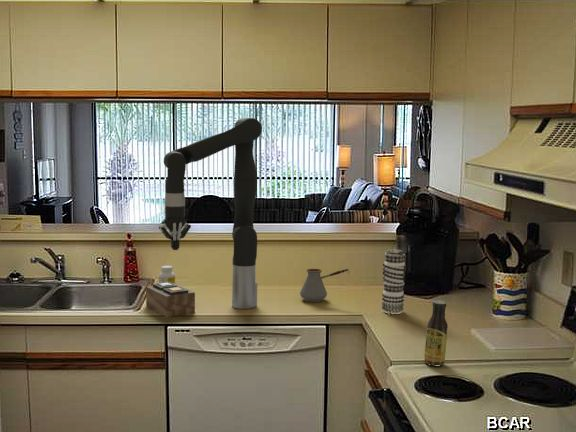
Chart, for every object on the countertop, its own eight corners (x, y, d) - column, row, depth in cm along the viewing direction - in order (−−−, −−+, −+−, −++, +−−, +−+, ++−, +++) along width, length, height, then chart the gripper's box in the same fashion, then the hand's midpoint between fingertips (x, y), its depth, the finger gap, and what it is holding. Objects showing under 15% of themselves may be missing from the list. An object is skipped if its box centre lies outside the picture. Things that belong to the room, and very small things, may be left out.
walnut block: (173, 302, 272) (173, 280, 271) (194, 312, 258) (194, 289, 257) (146, 306, 265) (146, 284, 264) (166, 317, 251) (166, 293, 250)
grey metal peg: (167, 302, 268) (167, 282, 267) (171, 304, 265) (171, 284, 264) (158, 303, 266) (158, 283, 265) (162, 305, 262) (162, 285, 261)
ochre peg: (177, 307, 261) (177, 287, 260) (182, 309, 258) (182, 289, 257) (168, 308, 258) (168, 288, 257) (173, 311, 255) (173, 290, 254)
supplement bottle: (176, 295, 285) (176, 265, 283) (172, 298, 278) (172, 268, 276) (161, 294, 285) (161, 264, 284) (157, 298, 279) (156, 267, 277)
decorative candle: (403, 316, 260) (406, 252, 257) (379, 314, 262) (382, 251, 259) (405, 310, 269) (407, 248, 266) (381, 308, 271) (384, 247, 268)
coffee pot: (295, 301, 279) (296, 266, 277) (306, 295, 289) (307, 261, 287) (343, 308, 270) (344, 271, 268) (352, 301, 280) (354, 266, 278)
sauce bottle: (420, 364, 207) (423, 301, 204) (429, 359, 212) (432, 298, 209) (440, 369, 203) (443, 305, 200) (448, 364, 208) (452, 301, 205)
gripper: (163, 206, 246) (163, 253, 248) (195, 204, 254) (195, 249, 256) (154, 204, 252) (155, 249, 254) (185, 202, 260) (186, 246, 262)
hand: (175, 249), depth 255 cm, fingers closed
